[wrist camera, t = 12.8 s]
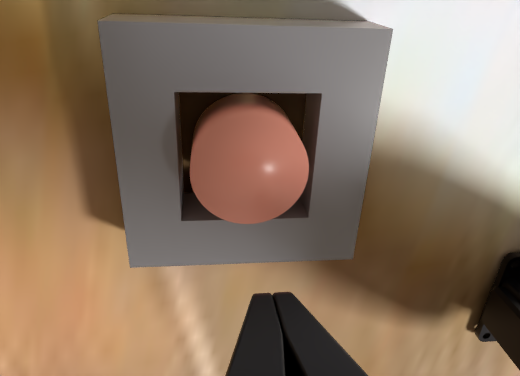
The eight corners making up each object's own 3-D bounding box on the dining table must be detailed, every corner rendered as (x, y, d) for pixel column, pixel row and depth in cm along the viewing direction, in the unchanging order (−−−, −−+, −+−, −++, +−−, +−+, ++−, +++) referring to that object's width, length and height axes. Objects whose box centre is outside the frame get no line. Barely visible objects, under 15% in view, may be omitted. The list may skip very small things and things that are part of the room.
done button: (298, 93, 17) (314, 115, 15) (290, 188, 19) (303, 222, 17) (190, 92, 17) (187, 115, 14) (194, 189, 19) (191, 225, 16)
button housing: (368, 21, 17) (392, 29, 15) (338, 229, 21) (352, 259, 19) (113, 13, 16) (97, 20, 13) (138, 235, 20) (129, 267, 18)
